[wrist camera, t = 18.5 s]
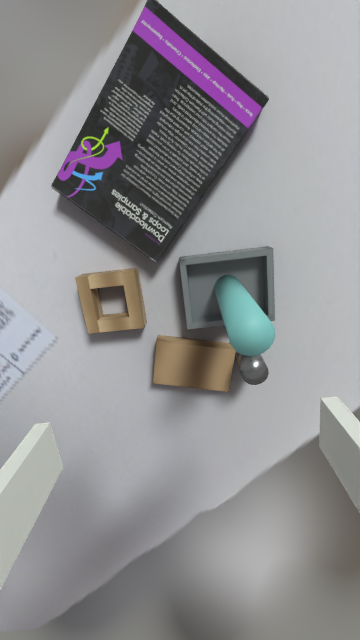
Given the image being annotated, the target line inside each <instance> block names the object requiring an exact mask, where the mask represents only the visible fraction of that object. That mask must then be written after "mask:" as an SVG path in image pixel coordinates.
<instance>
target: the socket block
mask: <svg viewBox="0 0 360 640" xmlns="http://www.w3.org/2000/svg"><path fill="white" fill-rule="evenodd" d="M75 279H76V284H77V288H78V292H79V297H80V301H81V305H82V310H83V314H84V318H85V323H86V327H87V331H88V334H90V333H99V332H109V331H119V330H129V329H139V328H144V326H145V324H146V322H147V320H146V314H145V308H144V302H143V296H142V290H141V284H140V278H139V272H138V268H132V269H123V270H115V271H106V272H98V273H89V274H82V275H80V276H78V277H76V278H75ZM121 285H124V291H125V296H126V302H127V307H128V312H126V313H117V314H107V315H103V311H102V307H101V302H100V297H99V292H98V288H103V287H112V286H121Z"/></svg>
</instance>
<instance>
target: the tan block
mask: <svg viewBox="0 0 360 640" xmlns="http://www.w3.org/2000/svg"><path fill="white" fill-rule="evenodd" d="M235 353H236V350H235V349H234V348H233V347H232V345H231V343H223V342H214V341H206V340H197V339H188V338H179V337H170V336H161V335H158V338H157V341H156V353H155V365H154V376H153V383H155V384H164V385H173V386H182V387H190V388H199V389H208V390H217V391H225V392H229V387H230V381H231V375H232V370H233V364H234V359H235Z"/></svg>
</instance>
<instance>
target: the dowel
mask: <svg viewBox="0 0 360 640" xmlns="http://www.w3.org/2000/svg"><path fill="white" fill-rule="evenodd" d="M214 290H215V294H216V297H217V301H218V304H219V307H220V310H221V314H222V317H223V320H224V324H225V327H226V330H227V334H228V337H229V340H230V343H231V345H232V347H233V348H234V349H235V350H236V351H237V352H238V353H240V354H243V355H246V356H255V355H259V354H261V353H263V352H265V351H266V350H267V349H269V347H270V346H271V345H272V343H273V341H274V338H275V329H274V326H273V324H272V322H271V321H270V320H269V319H268V317H267V316H266V315H265V313H264V312H263V311H262V310H261V308H260V307H259V306H258V304H257V303H256V302H255V301H254V299H253V298H252V297H251V295H250V294H249V293H248V291H247V290H246V289H245V288H244V286H243V285H242V284H241V282H240V281H239V280H238V279H237V278H236V277H235V276H233V275H223V276H221V277H220V278H218V279H217V281H216V283H215V286H214Z"/></svg>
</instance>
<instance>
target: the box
mask: <svg viewBox="0 0 360 640" xmlns="http://www.w3.org/2000/svg"><path fill="white" fill-rule="evenodd" d="M268 100H269V97H268V96H267V95H266V94H265V93H264V92H263V91H261V90H259V89H258V88H257V87H256V86H255V85H253V84H252V83H251V82H250V81H249V80H248V79H246V78H245V77H244V76H243V75H242V74H241V73H239V72H238V71H237V70H236V69H235V68H233V67H232V66H231V65H230V64H229V63H228V62H227V61H225V60H224V59H223V58H222V57H221V56H220V55H218V54H217V53H216V52H215V51H214V50H213V49H212V48H210V47H209V46H208V45H207V44H206V43H205V42H203V41H202V40H201V39H200V38H199V37H198V36H197V35H195V34H194V33H193V32H192V31H191V30H189V29H188V28H187V27H186V26H185V25H184V24H182V23H181V22H180V21H179V20H178V19H177V18H176V17H175V16H173V15H172V14H171V13H170V12H169V11H168V10H166V9H165V8H164V7H163V6H162V5H161V4H159V2H158V1H157V0H147V2H146V4H145V7H144V9H143V11H142V13H141V15H140V17H139V19H138V21H137V23H136V25H135V27H134V29H133V31H132V33H131V35H130V37H129V38H128V40H127V42H126V44H125V46H124V48H123V50H122V52H121V54H120V56H119V58H118V59H117V61H116V63H115V65H114V67H113V69H112V71H111V73H110V75H109V77H108V79H107V81H106V83H105V85H104V87H103V89H102V90H101V92H100V94H99V96H98V98H97V100H96V102H95V104H94V106H93V107H92V109H91V111H90V113H89V115H88V117H87V119H86V121H85V123H84V125H83V127H82V129H81V131H80V133H79V134H78V136H77V138H76V140H75V142H74V144H73V146H72V148H71V150H70V152H69V154H68V156H67V158H66V159H65V161H64V163H63V165H62V167H61V169H60V171H59V172H58V174H57V176H56V178H55V180H54V181H53V183H52V185H51V186H52V189H54V190H55V191H57V192H58V193H60V194H62V195H63V196H64V197H66V198H67V199H69V200H70V201H71V202H73V203H74V204H76V205H77V206H78V207H80V208H81V209H82V210H84V211H85V212H86V213H88V214H89V215H91V216H92V217H94V218H95V219H96V220H98V221H99V222H101V223H102V224H103V225H105V226H106V227H107V228H109V229H110V230H112V231H113V232H114V233H116V234H117V235H119V236H120V237H121V238H123V239H124V240H126V241H127V242H128V243H130V244H131V245H132V246H134V247H135V248H137V249H138V250H139V251H141V252H142V253H144V254H145V255H146V256H148V257H149V258H150V259H151V260H152V261H154V262H157V261H158V260H159V258H160V257H161V255H162V254H163V253H164V251H165V250H166V248H167V247H168V245H169V244H170V243H171V241H172V240H173V238H174V237H175V235H176V234H177V232H178V231H179V230H180V228H181V227H182V225H183V224H184V222H185V221H186V219H187V218H188V216H189V215H190V213H191V212H192V211H193V209H194V208H195V206H196V205H197V203H198V202H199V200H200V199H201V198H202V196H203V195H204V193H205V192H206V190H207V189H208V187H209V186H210V184H211V183H212V182H213V180H214V179H215V177H216V176H217V175H218V173H219V172H220V170H221V169H222V167H223V166H224V164H225V163H226V161H227V160H228V159H229V157H230V156H231V154H232V153H233V151H234V150H235V148H236V147H237V145H238V144H239V142H240V141H241V140H242V138H243V137H244V135H245V134H246V132H247V131H248V129H249V128H250V126H251V125H252V123H253V122H254V120H255V119H256V118H257V116H258V115H259V113H260V112H261V111H262V109H263V108H264V106H265V105H266V103H267V102H268Z"/></svg>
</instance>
